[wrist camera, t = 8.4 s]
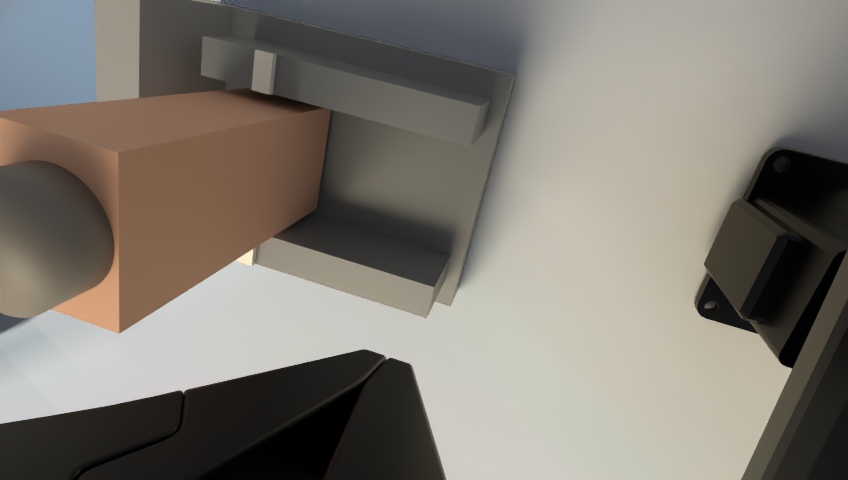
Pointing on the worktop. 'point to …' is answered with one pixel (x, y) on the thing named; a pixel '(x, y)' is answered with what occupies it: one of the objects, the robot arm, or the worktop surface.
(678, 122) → the worktop surface
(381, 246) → the socket track
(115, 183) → the plug
